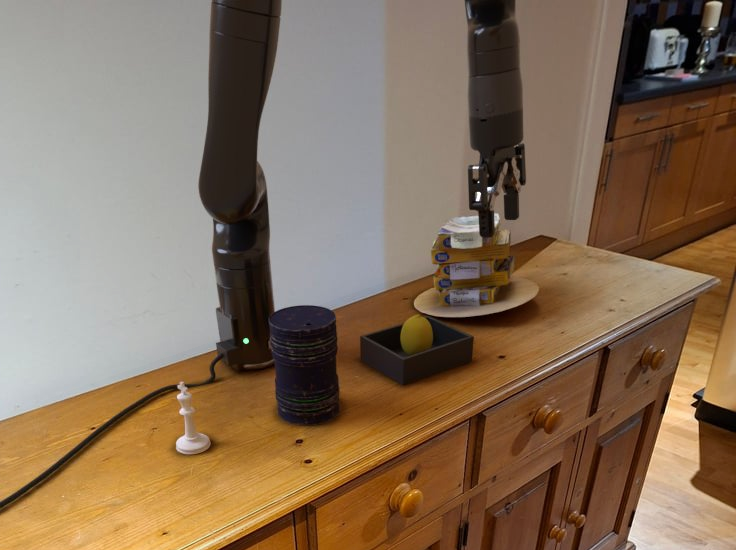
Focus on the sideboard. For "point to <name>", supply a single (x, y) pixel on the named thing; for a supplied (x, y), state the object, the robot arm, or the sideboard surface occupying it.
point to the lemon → (416, 335)
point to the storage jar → (305, 364)
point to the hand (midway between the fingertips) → (499, 227)
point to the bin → (395, 363)
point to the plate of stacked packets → (473, 272)
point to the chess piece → (190, 427)
